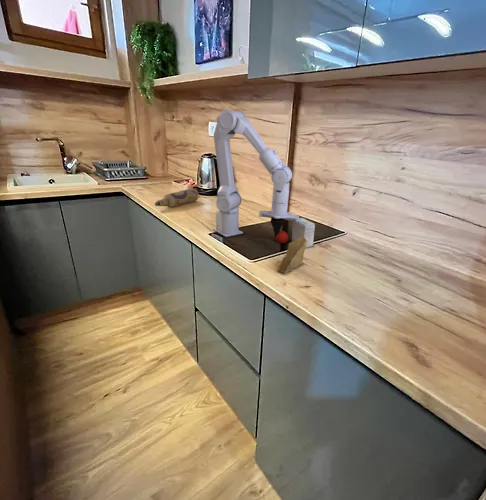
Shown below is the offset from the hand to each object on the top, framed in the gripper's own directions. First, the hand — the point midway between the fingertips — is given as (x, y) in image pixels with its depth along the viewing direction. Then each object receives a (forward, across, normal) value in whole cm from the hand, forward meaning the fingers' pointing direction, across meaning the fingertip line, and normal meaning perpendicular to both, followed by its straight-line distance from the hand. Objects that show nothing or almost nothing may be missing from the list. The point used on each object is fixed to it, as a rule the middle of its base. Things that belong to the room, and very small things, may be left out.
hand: (276, 237), depth 114 cm
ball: (0, +2, 0) cm, 2 cm away
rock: (+1, +8, -21) cm, 22 cm away
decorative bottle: (+3, -58, +33) cm, 67 cm away
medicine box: (+1, +10, 0) cm, 10 cm away
